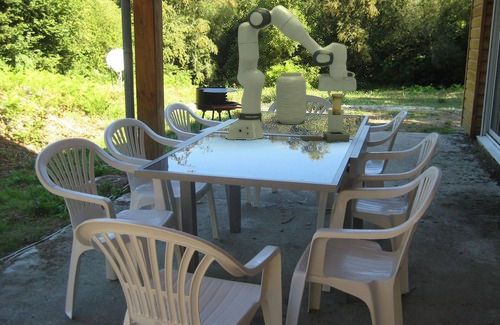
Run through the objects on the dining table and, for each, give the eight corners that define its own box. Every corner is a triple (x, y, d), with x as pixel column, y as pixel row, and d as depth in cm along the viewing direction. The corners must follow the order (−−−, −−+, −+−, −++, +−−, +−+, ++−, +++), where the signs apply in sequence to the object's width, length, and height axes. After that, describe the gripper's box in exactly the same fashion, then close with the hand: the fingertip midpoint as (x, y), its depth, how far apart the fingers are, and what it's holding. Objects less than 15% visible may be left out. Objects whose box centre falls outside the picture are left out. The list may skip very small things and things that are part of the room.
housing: (327, 142, 268) (327, 135, 267) (323, 138, 280) (323, 131, 279) (349, 142, 268) (349, 134, 267) (344, 138, 280) (344, 131, 279)
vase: (297, 126, 324) (298, 74, 316) (270, 124, 334) (270, 73, 327) (310, 122, 341) (311, 72, 333) (284, 120, 351) (284, 71, 343)
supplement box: (342, 135, 289) (343, 109, 286) (327, 134, 291) (327, 109, 288) (343, 132, 298) (343, 107, 295) (328, 132, 300) (328, 107, 296)
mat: (303, 140, 273) (303, 140, 273) (300, 137, 285) (300, 136, 285) (325, 140, 274) (325, 139, 274) (321, 136, 285) (321, 135, 285)
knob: (332, 115, 268) (332, 94, 265) (329, 113, 273) (330, 93, 271) (343, 115, 268) (343, 94, 265) (340, 113, 274) (341, 93, 271)
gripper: (319, 73, 262) (318, 100, 265) (357, 73, 263) (356, 99, 266) (317, 73, 268) (316, 99, 271) (354, 73, 269) (353, 98, 272)
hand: (336, 99), depth 269 cm, fingers closed on knob, 5 cm apart
